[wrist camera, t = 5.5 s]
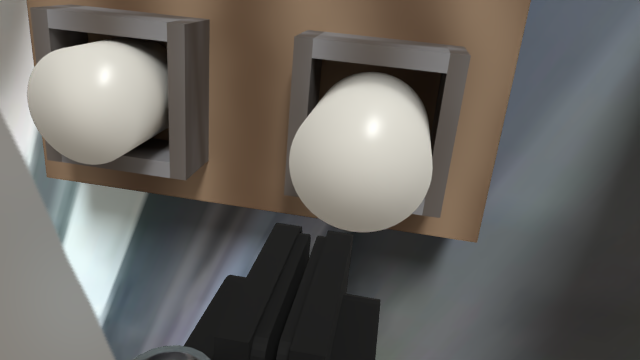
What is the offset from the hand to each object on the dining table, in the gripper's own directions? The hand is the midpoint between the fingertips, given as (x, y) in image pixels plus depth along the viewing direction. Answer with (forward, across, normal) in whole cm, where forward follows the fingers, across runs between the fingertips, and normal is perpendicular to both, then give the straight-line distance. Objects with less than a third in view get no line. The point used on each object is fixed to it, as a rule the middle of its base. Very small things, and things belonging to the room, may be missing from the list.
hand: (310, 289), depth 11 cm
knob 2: (+13, 0, 0) cm, 13 cm away
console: (+22, +6, 0) cm, 22 cm away
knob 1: (+15, +12, 0) cm, 19 cm away
